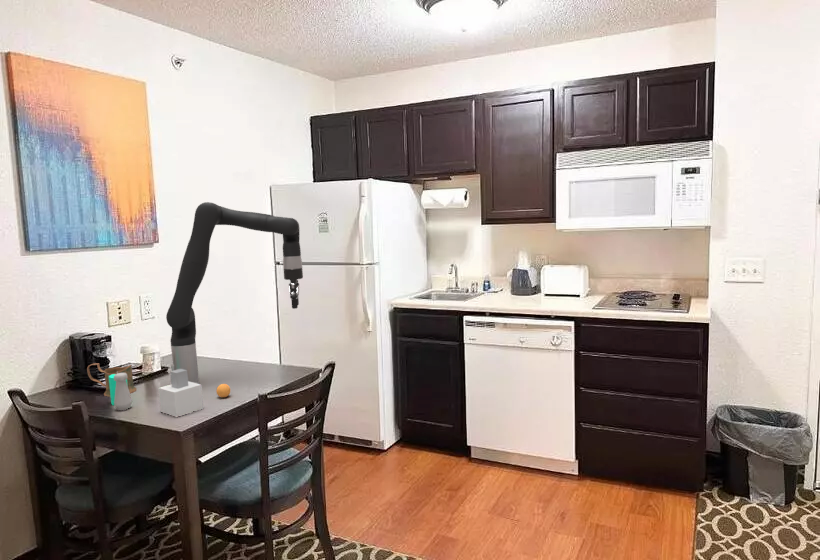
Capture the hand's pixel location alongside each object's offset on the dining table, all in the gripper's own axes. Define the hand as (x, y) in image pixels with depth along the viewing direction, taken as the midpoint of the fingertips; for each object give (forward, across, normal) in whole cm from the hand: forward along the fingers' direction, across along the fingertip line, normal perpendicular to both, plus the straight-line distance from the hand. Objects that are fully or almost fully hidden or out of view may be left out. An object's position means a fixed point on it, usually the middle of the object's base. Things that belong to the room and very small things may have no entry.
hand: (295, 306), depth 232 cm
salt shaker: (+30, +24, -61) cm, 72 cm away
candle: (+30, +16, -65) cm, 73 cm away
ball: (+27, +20, -27) cm, 43 cm away
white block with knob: (+29, +32, -39) cm, 58 cm away
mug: (+30, +1, -73) cm, 79 cm away
